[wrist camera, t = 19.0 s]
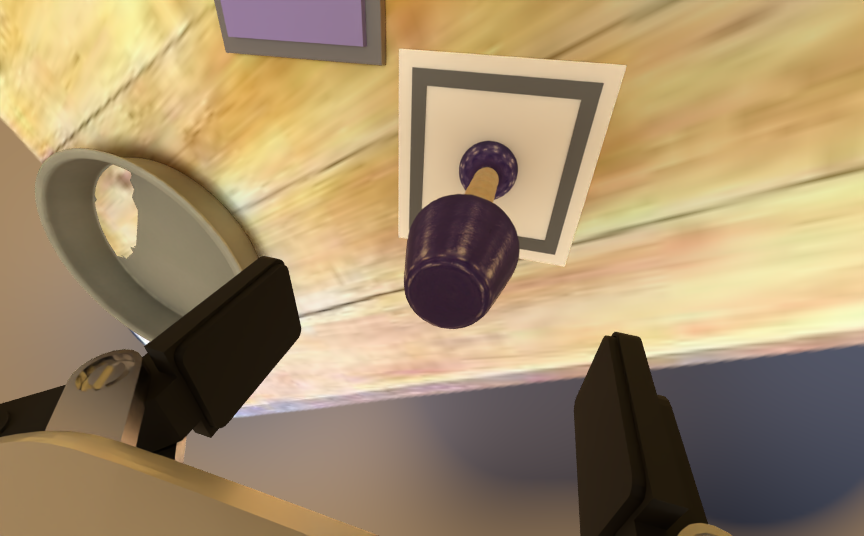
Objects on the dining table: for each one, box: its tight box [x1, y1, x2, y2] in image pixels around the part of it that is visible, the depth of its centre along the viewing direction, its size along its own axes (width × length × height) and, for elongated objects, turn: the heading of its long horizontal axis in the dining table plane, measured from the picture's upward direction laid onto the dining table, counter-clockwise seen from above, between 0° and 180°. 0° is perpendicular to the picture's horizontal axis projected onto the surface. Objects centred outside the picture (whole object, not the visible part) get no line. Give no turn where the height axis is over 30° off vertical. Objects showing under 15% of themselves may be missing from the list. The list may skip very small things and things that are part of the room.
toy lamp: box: [404, 141, 520, 329], centre depth 19 cm, size 5×5×17 cm
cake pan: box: [35, 148, 258, 342], centre depth 38 cm, size 25×25×4 cm
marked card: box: [398, 49, 627, 267], centre depth 26 cm, size 14×14×1 cm
